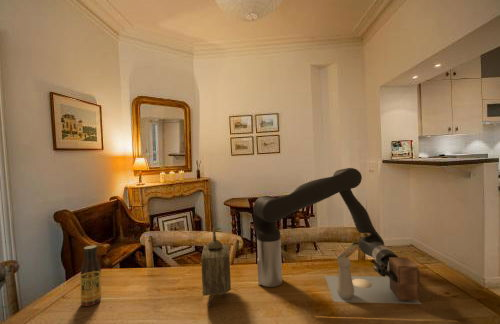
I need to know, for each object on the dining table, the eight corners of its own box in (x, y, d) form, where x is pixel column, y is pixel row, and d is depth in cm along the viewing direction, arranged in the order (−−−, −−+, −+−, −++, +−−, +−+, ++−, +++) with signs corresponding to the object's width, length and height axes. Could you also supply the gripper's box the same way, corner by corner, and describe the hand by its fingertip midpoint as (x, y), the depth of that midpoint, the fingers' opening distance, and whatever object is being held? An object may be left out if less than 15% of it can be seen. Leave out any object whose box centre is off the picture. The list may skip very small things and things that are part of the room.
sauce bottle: (79, 309, 86) (76, 251, 86) (82, 300, 92) (78, 246, 91) (102, 303, 89) (98, 247, 89) (103, 295, 95) (99, 242, 94)
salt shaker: (351, 291, 89) (350, 255, 89) (357, 301, 84) (355, 262, 83) (334, 291, 90) (333, 255, 90) (338, 300, 84) (337, 262, 84)
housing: (399, 299, 82) (398, 266, 81) (389, 288, 89) (388, 257, 88) (419, 300, 81) (418, 266, 81) (408, 288, 88) (407, 257, 88)
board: (334, 302, 84) (334, 301, 84) (324, 276, 102) (324, 275, 102) (421, 305, 81) (421, 303, 81) (396, 277, 98) (396, 276, 98)
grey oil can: (207, 288, 97) (204, 223, 96) (230, 286, 98) (227, 221, 97) (203, 311, 83) (199, 234, 82) (231, 308, 83) (228, 232, 83)
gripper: (366, 248, 100) (383, 268, 83) (405, 248, 98) (430, 268, 81) (366, 267, 100) (383, 290, 83) (405, 268, 98) (431, 291, 81)
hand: (406, 279), depth 82 cm, fingers closed on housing, 5 cm apart
